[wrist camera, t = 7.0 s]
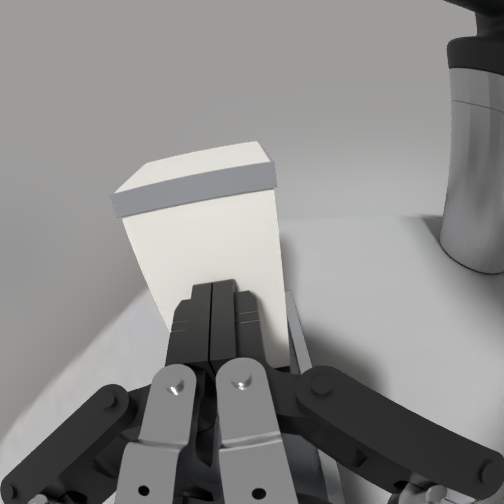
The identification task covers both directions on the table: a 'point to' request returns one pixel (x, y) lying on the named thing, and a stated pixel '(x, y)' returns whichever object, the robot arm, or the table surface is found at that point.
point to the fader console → (297, 448)
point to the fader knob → (209, 231)
